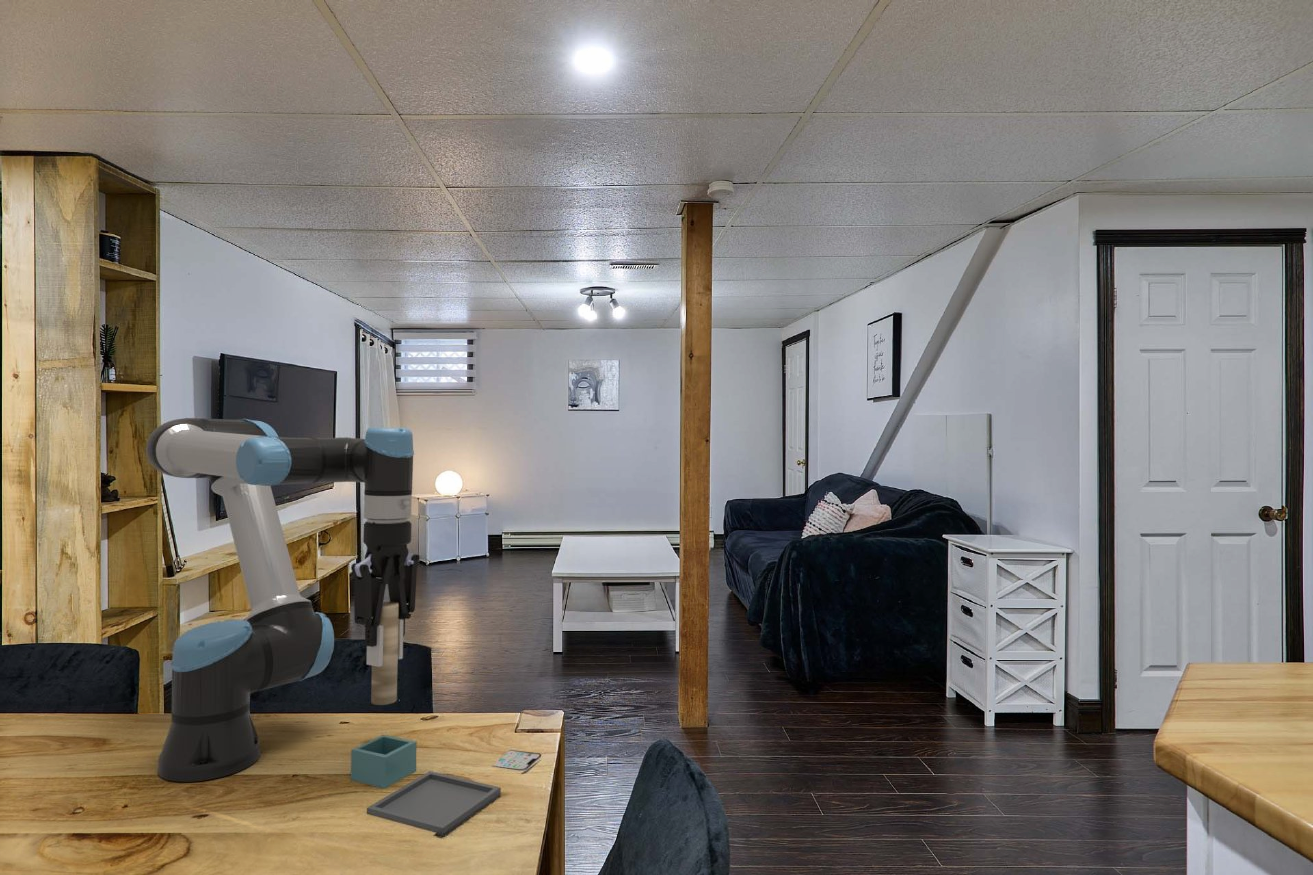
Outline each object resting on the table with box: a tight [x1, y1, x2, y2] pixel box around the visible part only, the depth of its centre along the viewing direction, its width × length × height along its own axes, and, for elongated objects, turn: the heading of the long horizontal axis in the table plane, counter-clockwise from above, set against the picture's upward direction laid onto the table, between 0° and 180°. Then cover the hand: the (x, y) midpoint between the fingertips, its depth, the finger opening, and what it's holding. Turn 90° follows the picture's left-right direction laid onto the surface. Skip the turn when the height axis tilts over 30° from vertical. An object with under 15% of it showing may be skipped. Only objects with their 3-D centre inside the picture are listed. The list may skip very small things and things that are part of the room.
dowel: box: [370, 601, 399, 706], centre depth 127 cm, size 4×4×16 cm
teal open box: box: [350, 734, 418, 789], centre depth 126 cm, size 7×7×6 cm
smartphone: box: [492, 749, 542, 775], centre depth 134 cm, size 7×1×15 cm
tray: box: [366, 770, 502, 839], centre depth 117 cm, size 14×14×1 cm
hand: (384, 661), depth 127 cm, fingers closed on dowel, 4 cm apart
